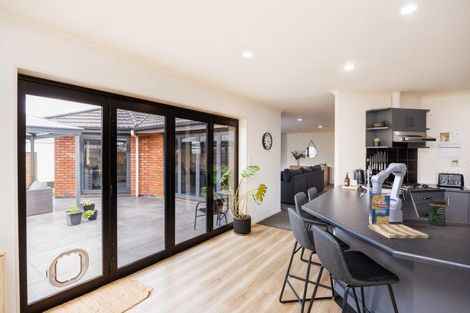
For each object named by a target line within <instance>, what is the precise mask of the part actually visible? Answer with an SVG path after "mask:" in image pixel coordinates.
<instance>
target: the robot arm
mask: <svg viewBox="0 0 470 313" xmlns="http://www.w3.org/2000/svg"><path fill="white" fill-rule="evenodd" d="M407 170H408V168H407V165H406V163H395V162H392V163H390V164H389V165H388V167H387V168H386V169H385V170H380V172H379V173H377V174H376V175H375V174H374V175H372V176H371V178H370V182H371V185H372V193H377V194H381V193H383V184H384V182H385V180H386V179H387V178H388V177H389V176H390V174H392V175H394V176H395V177H394V181H393V184H392V188H391V192H390V194H389V195H390V214H389V223H390V222H392V223H394V222H395V223H403V222H404V221H403V211H402V210H401V208H402V199H401V198H400V193H401V189H402V185H403V181H404V177H405V176H406V173H407Z"/></svg>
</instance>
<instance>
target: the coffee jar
mask: <svg viewBox="0 0 470 313" xmlns="http://www.w3.org/2000/svg"><path fill="white" fill-rule="evenodd" d="M428 205H429V211H428V220H427V222H428V224H430V225H433V226H442V227H443V226H446V225H447V222H446V207H447V200H446V199H444V198H443V199H442V198H429V200H428Z"/></svg>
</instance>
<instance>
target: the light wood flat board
mask: <svg viewBox="0 0 470 313" xmlns="http://www.w3.org/2000/svg"><path fill="white" fill-rule="evenodd" d="M367 227H369V228H368V229H370V230H372V231H374V232H376V233H378V234H380V235H382V236H383V237H386V238H388V239H390V238H394V239H429V234H427V233H425V232H422V231H420V230H417V229H414V228H412V227H410V226H407V225H406V224H405V225H404V224H401V223H400V224H390V223H389V224H384V225H371V224H367Z"/></svg>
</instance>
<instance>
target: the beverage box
mask: <svg viewBox="0 0 470 313" xmlns="http://www.w3.org/2000/svg"><path fill="white" fill-rule="evenodd" d="M390 195H391V194H388V193H383V192H382V193H381V194H377V193H373V192H369V211H368V223H369V225H384V224H390V221H389V214H390Z"/></svg>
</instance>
